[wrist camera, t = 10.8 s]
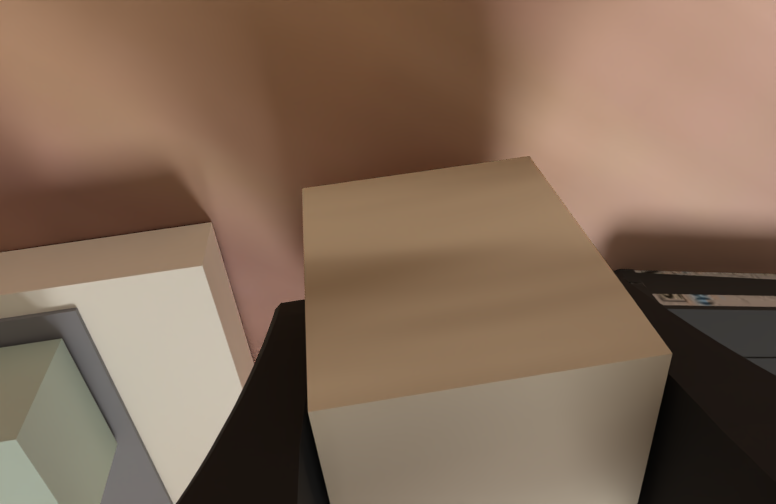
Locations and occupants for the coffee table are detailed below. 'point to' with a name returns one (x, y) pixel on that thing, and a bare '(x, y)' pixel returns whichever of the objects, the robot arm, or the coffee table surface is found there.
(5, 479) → the tab
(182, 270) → the white base plate
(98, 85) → the coffee table surface
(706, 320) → the vhs tape
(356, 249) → the block
